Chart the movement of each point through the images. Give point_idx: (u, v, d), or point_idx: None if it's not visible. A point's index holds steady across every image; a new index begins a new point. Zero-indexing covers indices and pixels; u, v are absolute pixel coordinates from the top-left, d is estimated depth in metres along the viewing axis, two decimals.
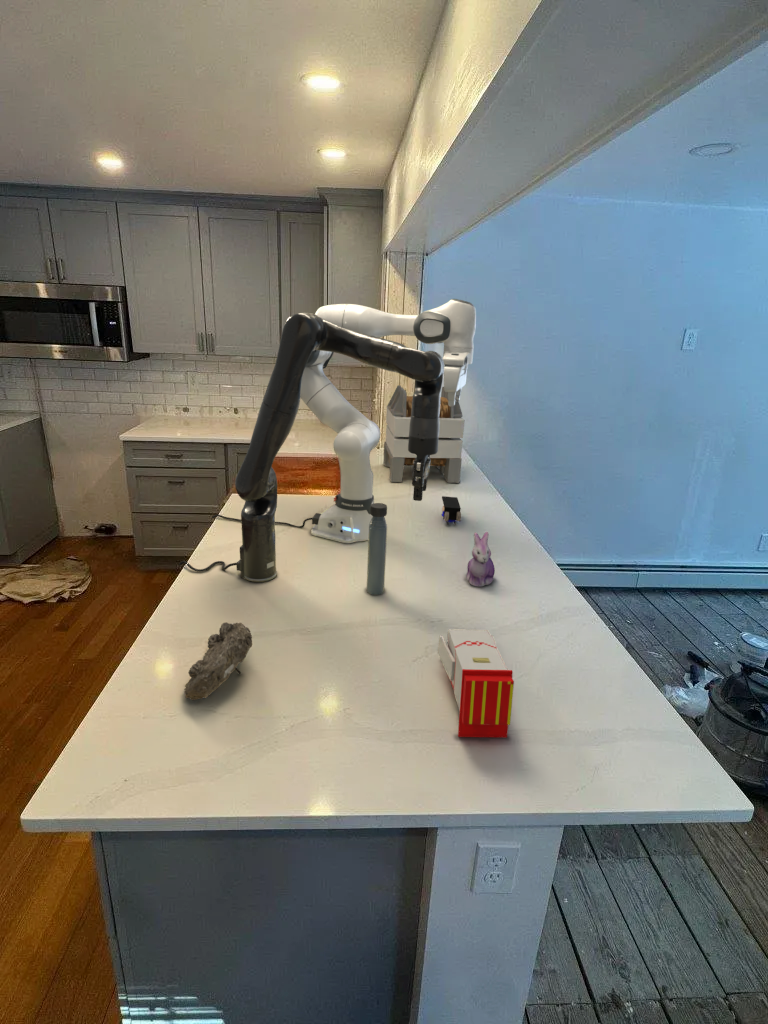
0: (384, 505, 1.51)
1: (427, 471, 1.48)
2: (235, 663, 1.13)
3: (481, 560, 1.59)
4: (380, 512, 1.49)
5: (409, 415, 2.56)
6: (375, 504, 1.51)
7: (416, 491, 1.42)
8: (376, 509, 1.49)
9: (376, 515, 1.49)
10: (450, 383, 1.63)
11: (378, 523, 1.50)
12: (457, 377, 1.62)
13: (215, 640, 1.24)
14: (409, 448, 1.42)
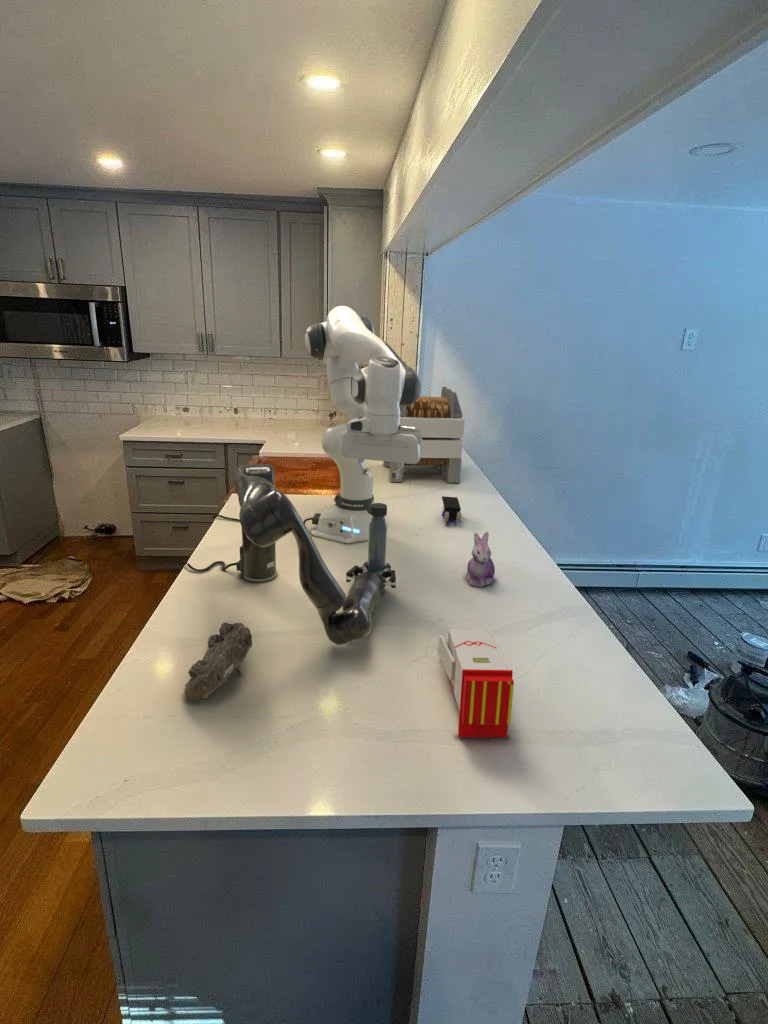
0: (384, 505, 1.51)
1: None
2: (235, 663, 1.13)
3: (481, 560, 1.59)
4: (380, 512, 1.49)
5: (409, 415, 2.56)
6: (375, 504, 1.51)
7: None
8: (376, 509, 1.49)
9: (376, 515, 1.49)
10: None
11: (378, 523, 1.50)
12: (343, 440, 1.45)
13: (215, 640, 1.24)
14: (360, 574, 1.46)
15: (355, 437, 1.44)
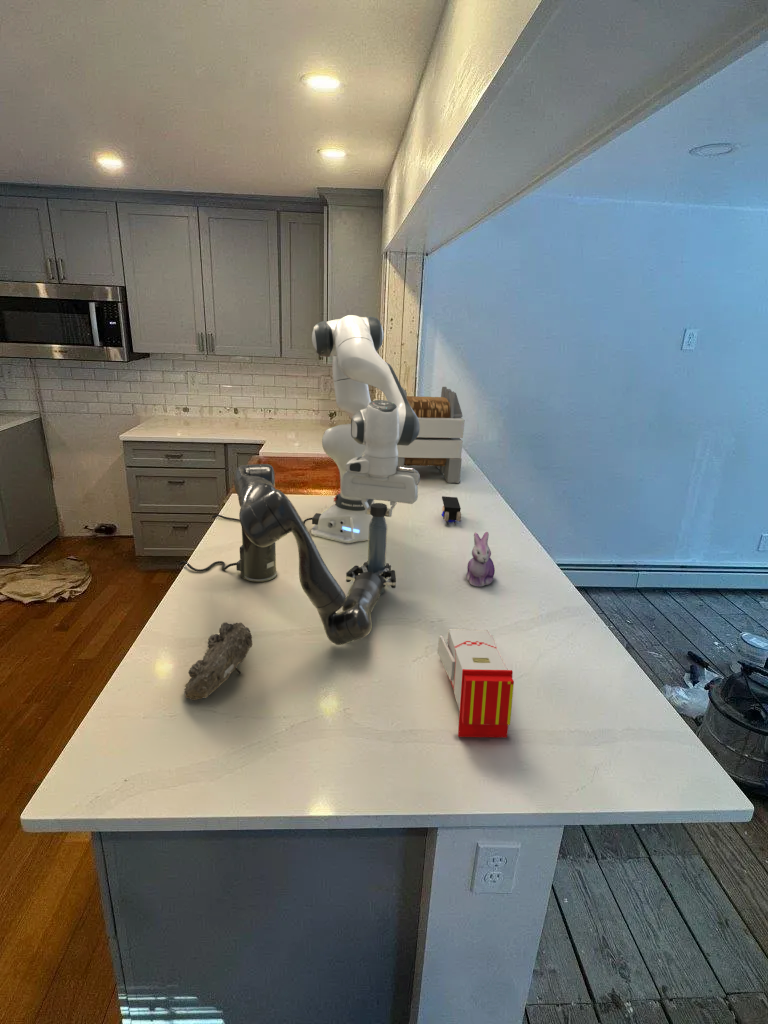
0: (384, 505, 1.51)
1: None
2: (235, 663, 1.13)
3: (481, 560, 1.59)
4: (380, 512, 1.49)
5: None
6: (375, 504, 1.51)
7: None
8: (376, 509, 1.49)
9: (376, 515, 1.49)
10: None
11: (378, 523, 1.50)
12: (342, 480, 1.49)
13: (215, 640, 1.24)
14: (360, 574, 1.46)
15: (354, 477, 1.48)
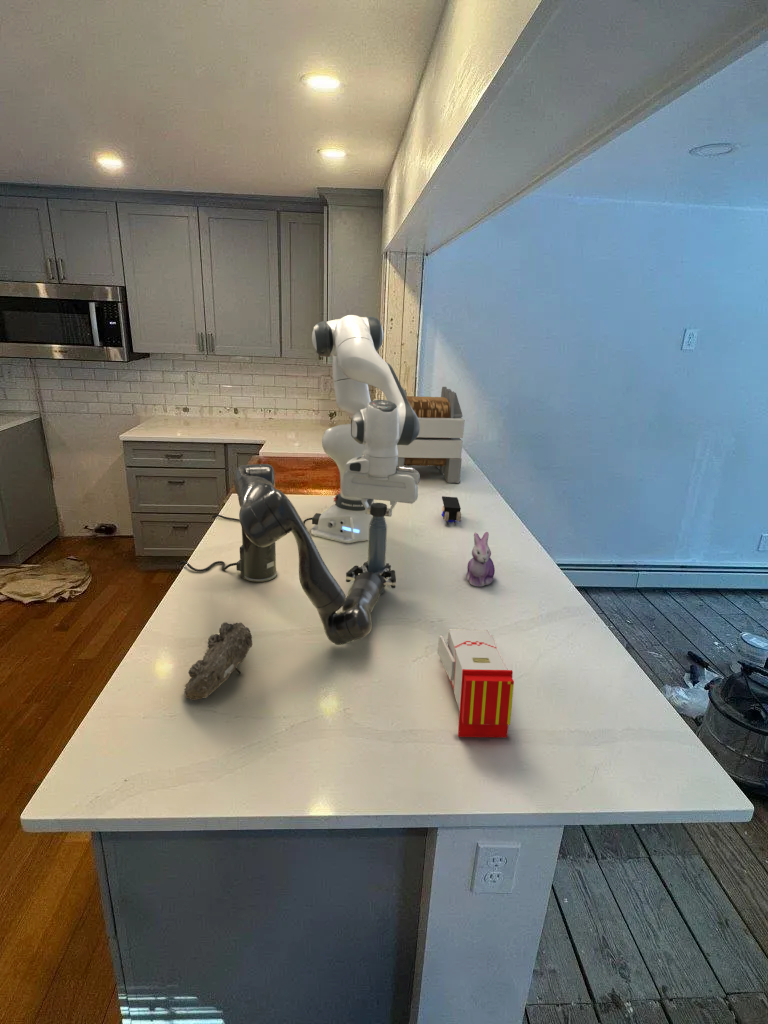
0: (378, 503, 1.52)
1: None
2: (235, 663, 1.13)
3: (481, 560, 1.59)
4: None
5: None
6: (375, 506, 1.50)
7: None
8: (386, 508, 1.50)
9: None
10: None
11: (378, 523, 1.50)
12: (342, 480, 1.49)
13: (215, 640, 1.24)
14: (360, 574, 1.46)
15: (354, 477, 1.48)
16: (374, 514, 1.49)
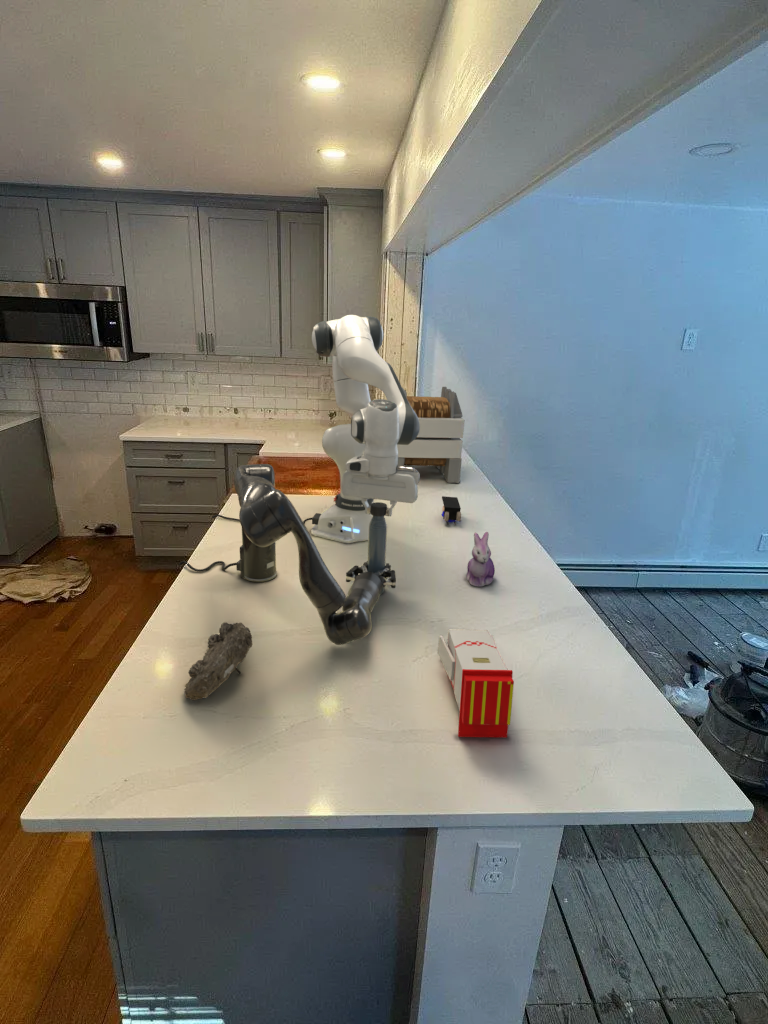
0: (373, 504, 1.50)
1: None
2: (235, 663, 1.13)
3: (481, 560, 1.59)
4: None
5: None
6: (382, 506, 1.50)
7: None
8: None
9: None
10: None
11: (378, 523, 1.50)
12: (342, 479, 1.49)
13: (215, 640, 1.24)
14: (360, 574, 1.46)
15: (354, 476, 1.48)
16: (385, 513, 1.50)
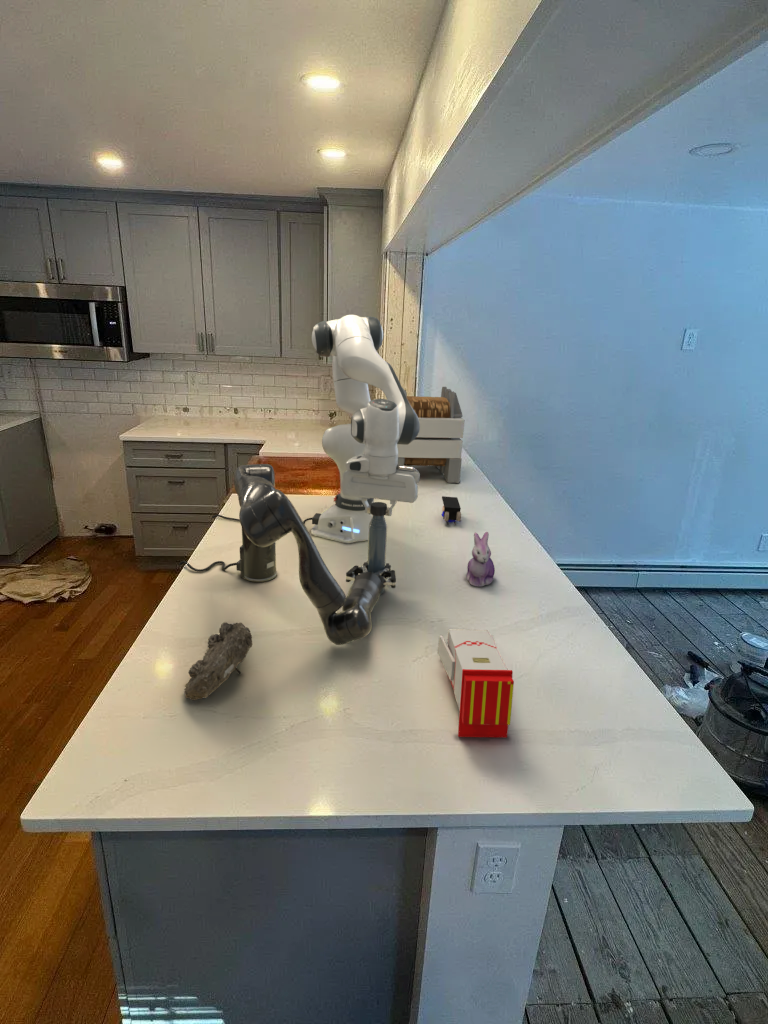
0: (379, 506, 1.49)
1: None
2: (235, 663, 1.13)
3: (481, 560, 1.59)
4: None
5: None
6: (382, 503, 1.51)
7: None
8: None
9: None
10: None
11: (378, 523, 1.50)
12: (342, 479, 1.49)
13: (215, 640, 1.24)
14: (360, 574, 1.46)
15: (354, 476, 1.48)
16: None
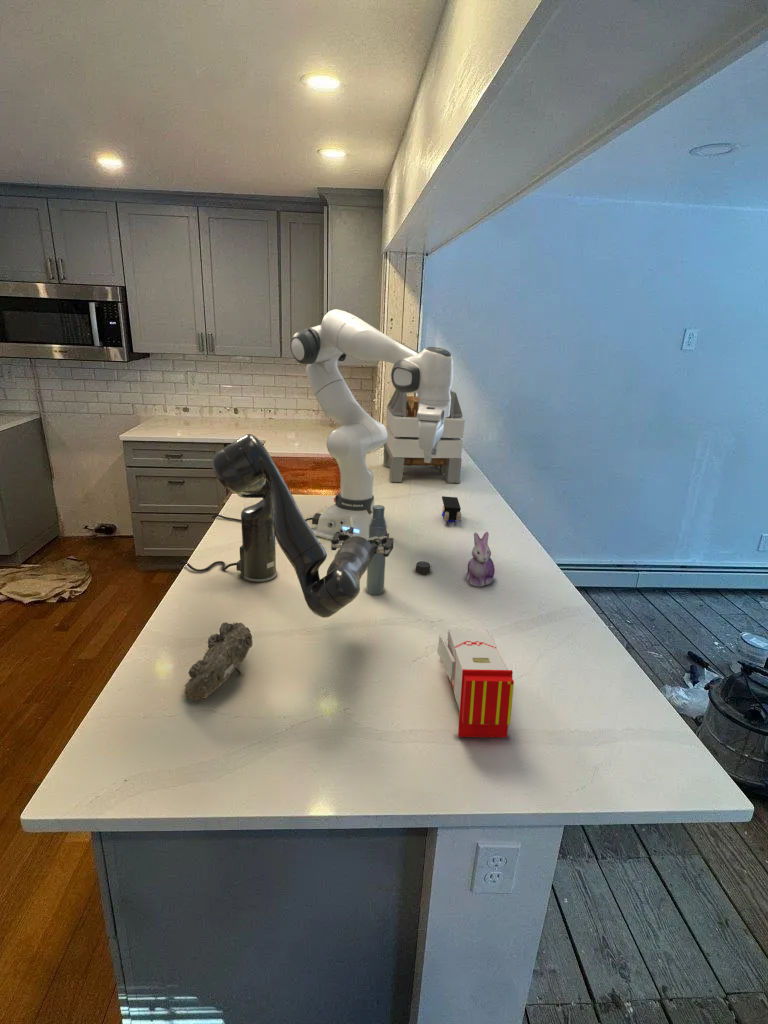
0: (418, 564, 1.71)
1: None
2: (235, 663, 1.13)
3: (481, 560, 1.59)
4: None
5: (409, 415, 2.56)
6: (426, 565, 1.70)
7: None
8: None
9: None
10: (425, 440, 1.48)
11: (378, 523, 1.50)
12: (433, 433, 1.48)
13: (215, 640, 1.24)
14: (348, 538, 1.28)
15: None
16: (428, 572, 1.71)
